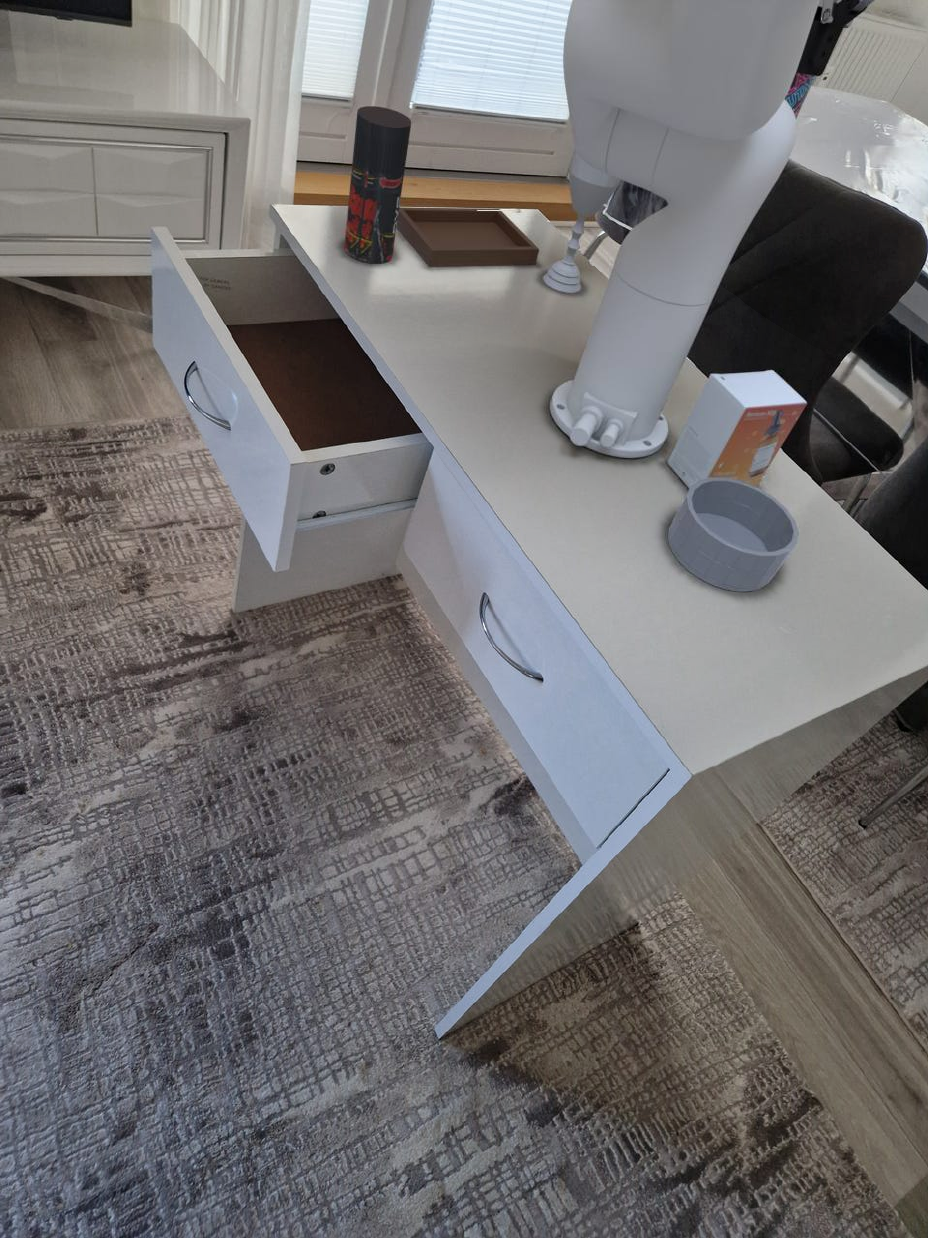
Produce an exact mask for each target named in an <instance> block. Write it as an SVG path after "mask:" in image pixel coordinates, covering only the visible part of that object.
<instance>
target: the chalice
mask: <svg viewBox="0 0 928 1238" xmlns="http://www.w3.org/2000/svg"><path fill="white" fill-rule="evenodd" d="M568 170H569V171H568V179H569V181H568V183H569V194H570V199H571V207H572V210H573V211H574V212H576V213H577V217H576V218H577V219H576V222H575V223H574V226H572V227H571V236H572V237H571V238H570V240H569V241H567V242H566V246H567V252H566V255H565V257H564V258H562V260H561V259H559V260H557V261H555V262H554V263H552V264H551V267H550V268H549V269H548V270H547V272H546V273H545V274H544V275H543V277H542V280H543V282H544V283H545V284H546V285H547V286H548V287H550V288H551V289H553V290H556V291H557V292H558V291H559V292H562V293H568V294H574V293H575V294H576V293H577V292H580V291H581V289H582V285H581V271H580V269H579V266H578V265H577V264H576V262H575V261H574V260H575V255H576V253H577V251H579V250H580V249H581V246H580V239H581V237H582V235H584V234H585V230H584V228H585V222H586V220H587V218H588V217H593V216H595V215H596V214H597V213H598V212H599V211H600V210H601V209H602V208H603V207H604V206H605V204H606V203H607V202H608V201H609V200H610V199H611V197H612V196H613V195H614V193H615V192H616V190H617V189H618V188H619V186H620V184H621V181H622V180H621V179H618V178H616V177H613V176H611V175H608V174H606V173H604V172H602V171H599V170H597V169H595V168H593V167H591V166H590V165H588V164H587V163H586V162H585V161H584V160H583V159H582V158H581V157H580V156H579V154H578V152H577V150H576V147H575V146H574V148H573V153H572V156H571V160H570V164H569V169H568Z"/></svg>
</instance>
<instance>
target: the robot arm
mask: <svg viewBox="0 0 928 1238" xmlns="http://www.w3.org/2000/svg"><path fill="white" fill-rule="evenodd" d="M819 1H820V0H572V1H571V4H570V6H569V7H570V8H569V12H568V15H567V21H566V27H565V31H564V39H563V53H562V66H563V67H562V68H563V80H564V87H565V88H564V89H565V95H566V101H567V108H568V114H569V120H570V127H571V134H572V139H573V144H574V148H575V147H576V150H577V152H578V154H579V156H580V157H581V158H582V159H583V160H584V161H585V162H586V163H587V164H588V165H590V166H591V167H593V168H595V169H597V170H599V171H602V172H604V173H606V174H608V175H611V176H613V177H616V178H618V179H621V181H623V182H626V183H628V184H631V185H633V186H636V187H639V188H641V189H643V190H646V191H648V192H651V193H652V194H654V195H656V196H658V197H660V198H662V199H664V200H665V201H666V202H667V205H666V206H665V207H662V208H661V209H659V210H658V211H655V212H654V213H652V214H651V215H649V216H647V217H646V218H644V219H643V220H642V221H640V222H639V223H638V224H636V225H635V226H634V227H633V228H632V229H631V230H630V231H629V232H628V233H627V235H626V236H625V237H624V239H623V241H622V242H621V244H620V246H619V247H618V251H617V253H616V256H615V260H614V263H613V265H612V269H611V271H610V274H609V278H608V280H607V284H606V286H605V289H604V292H603V295H602V297H601V300H600V304H599V306H598V309H597V312H596V314H595V317H594V321H593V324H592V326H591V329H590V332H589V335H588V338H587V341H586V343H585V346H584V349H583V353H582V356H581V359H580V361H579V364H578V366H577V370H576V373H575V376H574V378H573V379H571V380H568V381H565V382H563V383H561V384H560V385H559V386H557V387H556V389H555V390H554V391H553V393H552V396H551V399H550V401H549V411H550V414H551V417H552V419H553V421H554V423H555V424H556V425H557V427H559V429H560V430H561V431H562V432H563V433H564V434H565V435H566V436H567V437H569V439H570V441H571V443H572V444H573V445H575V446H577V447H578V446H579V447H585V448H587V449H589V450H591V451H594V452H596V453H600V454H603V455H607V456H610V457H615V458H621V459H622V458H623V459H624V458H625V459H635V458H644V457H647V456H650V455H653V454H654V453H657V452H659V450H661V448H662V447H664V444H665V442H666V440H667V438H668V435H669V424H668V421H667V419H666V416H665V415H664V414H663V411H664V408H665V406H666V404H667V401H668V399H669V397H670V394H671V392H672V390H673V388H674V386H675V383H676V381H677V380H678V377H679V375H680V373H681V370H682V369H683V366H684V364H685V361H686V359H687V357H688V355H689V352H690V351H691V348H692V346H693V344H694V341H695V339H696V337H697V335H698V333H699V330H700V328H701V326H702V323H703V321H704V319H705V318H706V315H707V313H708V311H709V308H710V306H711V304H712V302H713V299H714V297H715V295H716V294H717V293H716V292H717V290H718V288H719V286H720V284H721V282H722V279H723V277H724V275H725V273H726V271H727V270H728V268H729V265H730V263H731V261H732V259H733V257H734V255H735V253H736V251H737V249H738V247H739V245H740V243H741V241H742V239H743V237H744V236H745V234H746V232H747V231H748V229H749V227H750V225H751V223H752V222H753V220H754V218H755V216H756V215H757V214H758V212H759V210H760V209H761V207H762V205H763V204H764V202H765V201H766V199H767V198H768V195H769V194H770V192H771V191H772V189H773V188H774V186H775V184H776V183H777V181H778V180H779V178H780V177H781V174H782V173H783V171H784V169H785V167H786V165H787V163H788V162H789V159H790V156H791V155H792V152H793V149H794V147H795V143H796V139H797V131H798V127H797V126H798V125H797V119H796V118H795V115H794V112H793V110H792V108H791V107H790V105H789V104H788V102H787V101H786V100H785V97H786V95H787V94H788V91H789V89H790V86H791V84H792V81H793V79H794V76H795V73H796V72H797V73H801V74H807V75H813V76H816V77H821V76H822V75H823V74H824V72H825V70H826V68H827V65H828V63H829V61H830V59H831V57H832V54H833V52H834V50H835V48H836V46H837V44H838V41H839V40H840V37H841V35H842V33H843V30H844V29H848V28H850V26H851V25H852V24H853V23H854V20H855V19H856V18H857V17H859V16H860V15H861V14H863V13H864V12H865V11H866V10H867V9H868V7H869V5H871V4H872V3H873V2H874V1H875V0H824V1H823V7H822V13H821V21H818V20H814V22H813V19H814V16H815V13H816V10H817V7H818V4H819ZM838 1H839V2H838ZM812 22H813V24H812Z"/></svg>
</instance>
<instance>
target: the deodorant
mask: <svg viewBox="0 0 928 1238" xmlns="http://www.w3.org/2000/svg"><path fill="white" fill-rule="evenodd" d="M355 120H356V121H355V122H356V123H355V131H354V140H353V141H354V142H353V152H352V162H351V163H352V164H351V173H350V183H349V193H348V194H349V195H348V203H347V205H348V206H347V212H346V214H347V215H346V224H345V235H344V245H343V250H344V252H345V253H346V254H347V255H348V256H349V257H351V258H352V259H354V260H357V261H359V262H361V263H367V264H374V265H379V264H380V265H381V264H385V263H388V262H390V261H391V260H393V254H394V249H395V242H396V241H395V240H396V234H397V229H398V228H397V221H398V213H399V207H401V206H400V205H401V199H402V191H403V184H404V177H405V170H406V163H407V156H408V150H409V142H410V135H411V127H412V120H411V119H410V118H409V117H408V116H407V115H405V114H403V113H401V112H399V111H397V110H395V109H392V108H387V107H383V106H374V105H366V106H361V107H359V108H358V109H357V111H356V119H355Z"/></svg>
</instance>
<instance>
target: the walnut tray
mask: <svg viewBox="0 0 928 1238" xmlns="http://www.w3.org/2000/svg"><path fill="white" fill-rule="evenodd" d="M477 210H501V209H500V208H480V207H478V208H477V207H413V206H412V207H409V206H405V207H404V206H403V207H402V206H399V213H398V221H397V228H396V229H398V231H399V232H400V233H401V234H402V235H403V237H404V239H406V241H407V242H408V243H409V244H410V246H411V247H412V248H413V249H414V250H415V252H417V255H419V256H420V258H421V259H422V260H423V261H424V263H426V265H427V266H428V267H429V268H434V267H435V268H436V267H438V268H439V267H442V268H443V267H487V266H488V267H489V266H494V267H495V266H535V265H536V264H537V259H538V256H539V252H540V248H539V247H538V246H537V245H536V244H535V243H534V242H533V241H532V240H531V239H530V238H529V237H528V236H527V235H526V234H525V233H524V232H523V231H522V230H521V229H520V228H519V226H518V225H516V223H514V221H512V220H511V219H510V218H509V217H508V216H507V214H505V213H504V212H503V210H501V211H477Z"/></svg>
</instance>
